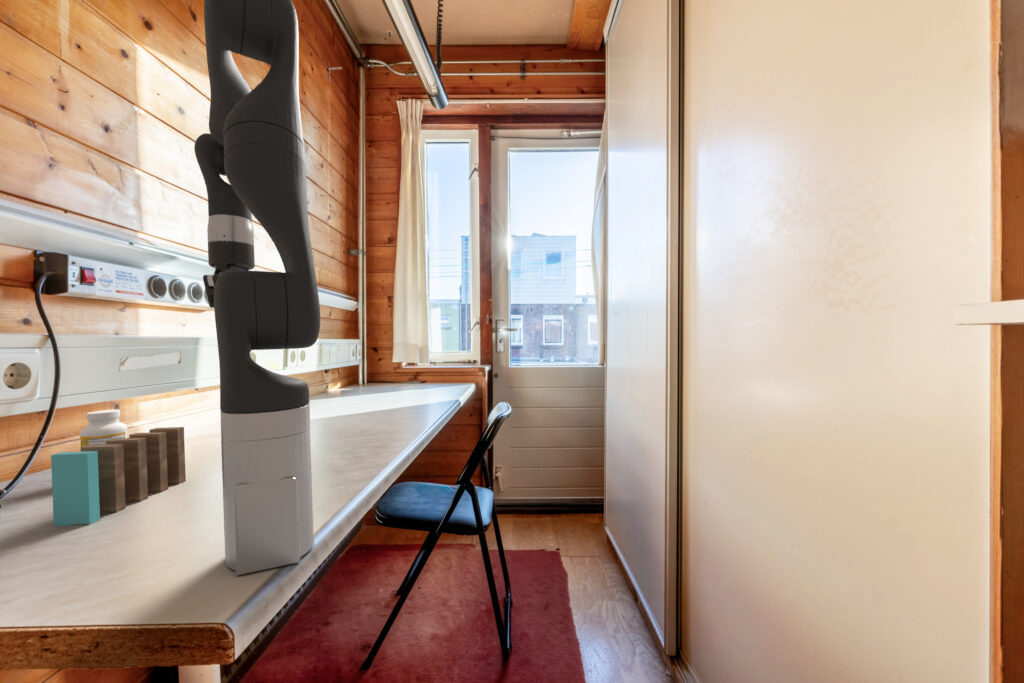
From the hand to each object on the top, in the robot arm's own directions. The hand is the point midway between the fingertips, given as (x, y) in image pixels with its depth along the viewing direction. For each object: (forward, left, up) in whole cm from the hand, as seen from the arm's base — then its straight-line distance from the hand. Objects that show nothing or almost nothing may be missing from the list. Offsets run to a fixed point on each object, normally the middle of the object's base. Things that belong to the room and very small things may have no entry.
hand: (234, 332), depth 86 cm
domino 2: (-12, +16, -27) cm, 34 cm away
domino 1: (-16, +18, -27) cm, 36 cm away
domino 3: (-8, +14, -27) cm, 32 cm away
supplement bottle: (+10, +23, -27) cm, 37 cm away
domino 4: (-4, +13, -27) cm, 30 cm away
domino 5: (0, +11, -27) cm, 29 cm away
